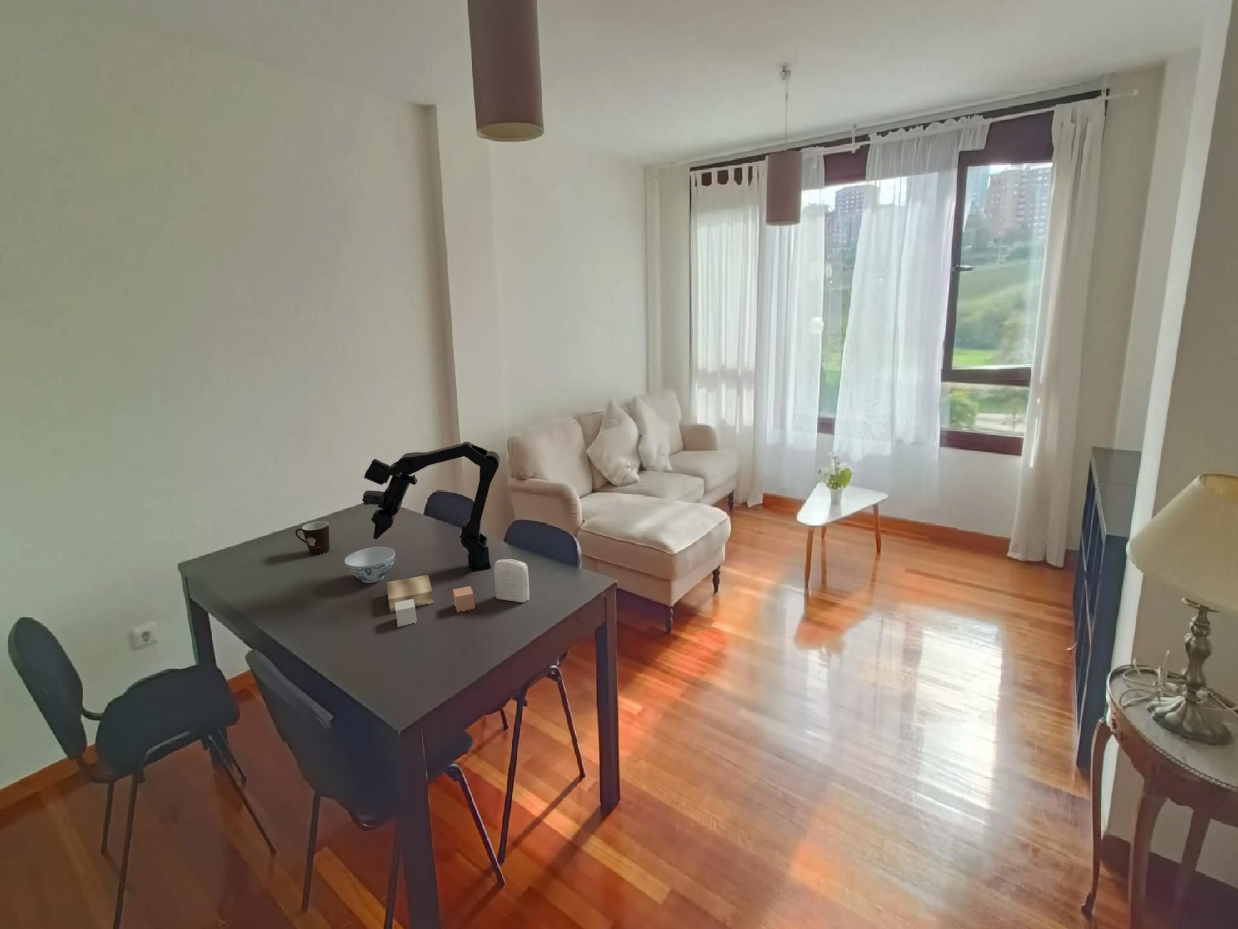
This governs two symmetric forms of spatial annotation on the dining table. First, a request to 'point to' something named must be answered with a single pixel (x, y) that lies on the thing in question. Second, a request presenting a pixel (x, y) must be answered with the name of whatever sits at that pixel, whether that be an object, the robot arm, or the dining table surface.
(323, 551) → the coffee mug
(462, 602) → the terracotta cube
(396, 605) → the grey cube
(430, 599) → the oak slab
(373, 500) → the robot arm
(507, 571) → the white rounded block
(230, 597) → the dining table surface
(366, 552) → the chinaware
